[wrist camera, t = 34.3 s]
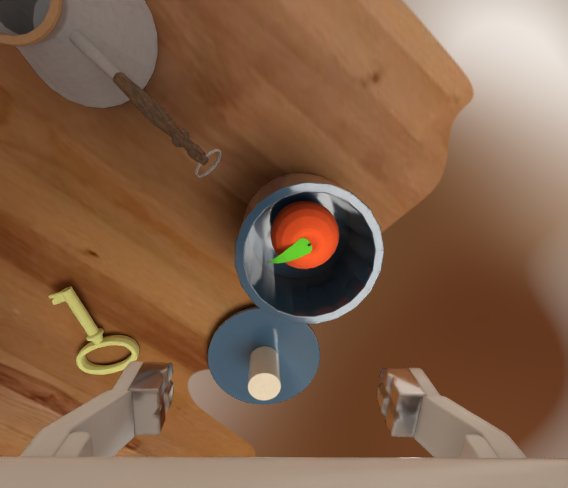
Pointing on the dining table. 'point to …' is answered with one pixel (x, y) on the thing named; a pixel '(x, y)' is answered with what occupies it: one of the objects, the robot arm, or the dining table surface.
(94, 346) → the key
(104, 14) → the coffee pot
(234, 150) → the dining table surface
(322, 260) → the clementine
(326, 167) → the dining table surface
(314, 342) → the lid
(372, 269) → the canister
